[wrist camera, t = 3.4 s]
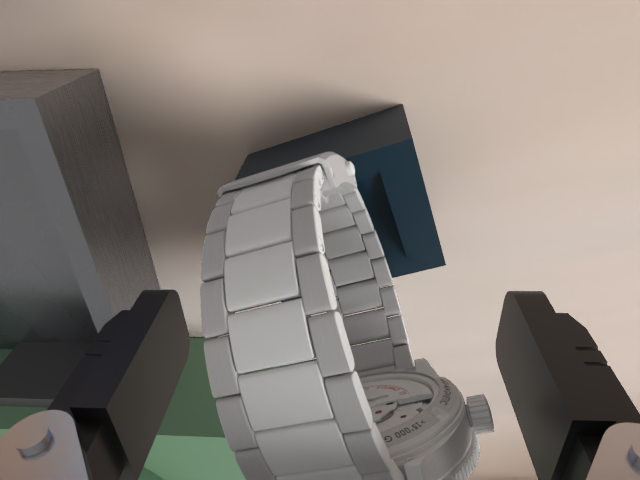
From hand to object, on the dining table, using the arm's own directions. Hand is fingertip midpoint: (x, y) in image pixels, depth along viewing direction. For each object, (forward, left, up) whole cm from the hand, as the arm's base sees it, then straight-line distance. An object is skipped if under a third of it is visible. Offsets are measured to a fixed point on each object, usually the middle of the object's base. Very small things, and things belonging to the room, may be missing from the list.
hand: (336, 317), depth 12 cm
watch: (0, 0, -7) cm, 7 cm away
